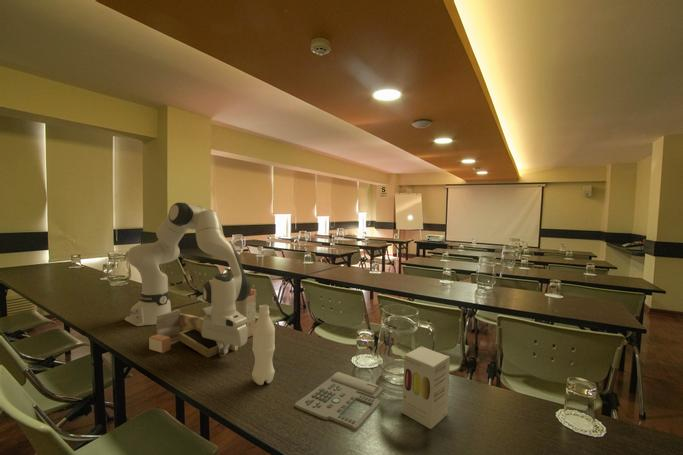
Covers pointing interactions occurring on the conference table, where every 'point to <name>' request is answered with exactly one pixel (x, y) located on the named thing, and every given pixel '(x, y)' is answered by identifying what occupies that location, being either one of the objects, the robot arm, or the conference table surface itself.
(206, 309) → the ceramic mug
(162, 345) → the orange brown block
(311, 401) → the office telephone
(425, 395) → the supplement box
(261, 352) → the water bottle
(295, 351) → the conference table surface
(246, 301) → the cracker box
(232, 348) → the shelf
